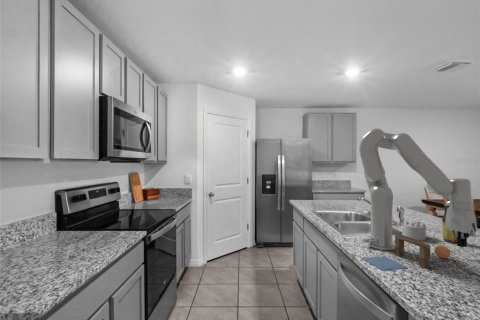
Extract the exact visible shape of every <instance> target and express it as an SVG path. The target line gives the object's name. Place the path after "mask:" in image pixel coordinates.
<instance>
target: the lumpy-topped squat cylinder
mask: <svg viewBox="0 0 480 320" xmlns="http://www.w3.org/2000/svg"><path fill="white" fill-rule="evenodd" d="M403 235H404V236H407V237H409V238H412V239H415V240H418V241H425V240H427V226H426V223H424V222H421V221H418V220H417V221H416V220H415V221H414V220H404V222H403Z"/></svg>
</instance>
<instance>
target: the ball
mask: <svg viewBox="0 0 480 320" xmlns="http://www.w3.org/2000/svg"><path fill="white" fill-rule="evenodd" d="M434 254H435V256H437V257H438V258H440V259H448V258H450V256H451V251H450V249H449V248H448V247H447V246H445V245H437V246H436V247H434Z"/></svg>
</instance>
